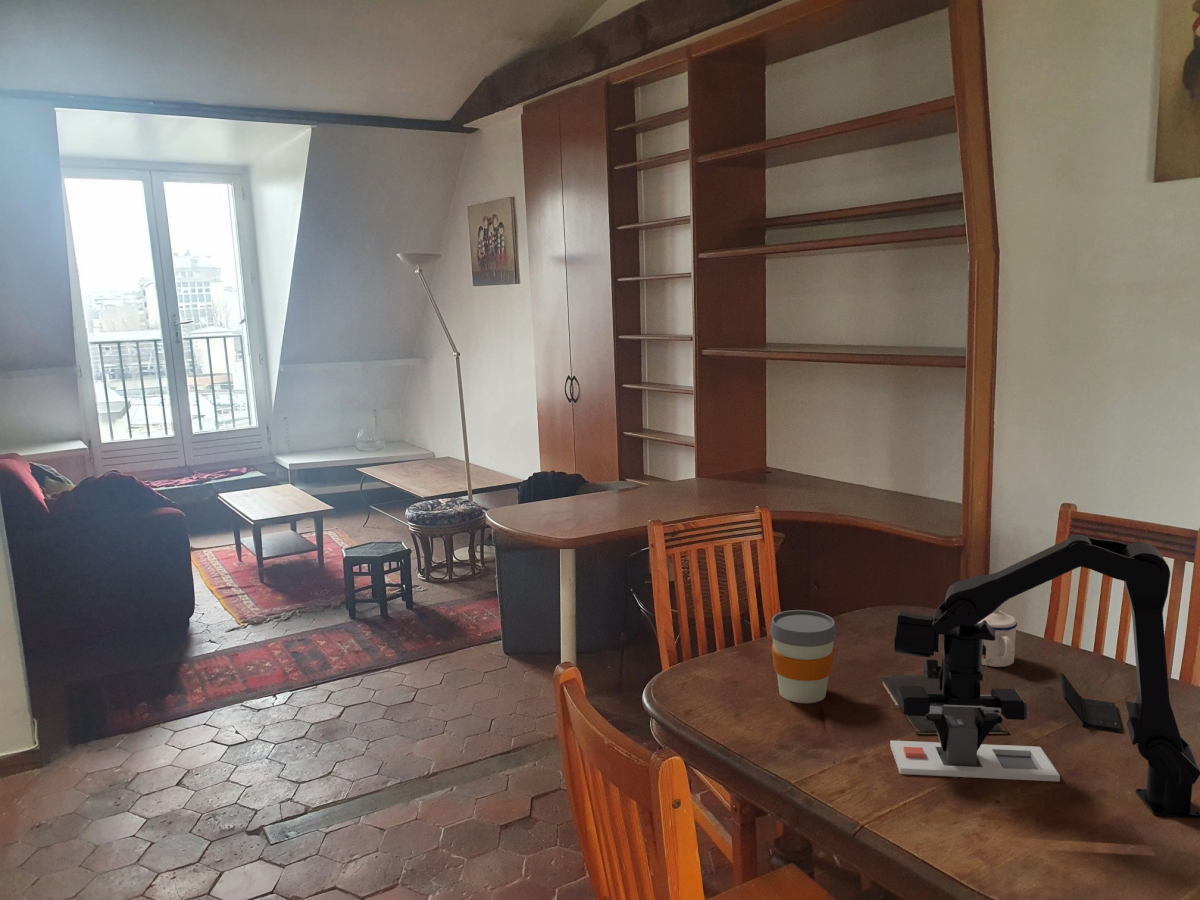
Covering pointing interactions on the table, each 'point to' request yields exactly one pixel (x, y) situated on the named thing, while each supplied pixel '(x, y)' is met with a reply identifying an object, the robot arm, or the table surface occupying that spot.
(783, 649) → the reusable coffee cup
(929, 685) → the hardcover book
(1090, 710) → the handheld gaming console
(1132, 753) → the table surface
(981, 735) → the robot arm
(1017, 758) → the power strip
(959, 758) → the block
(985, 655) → the teacup with lid
